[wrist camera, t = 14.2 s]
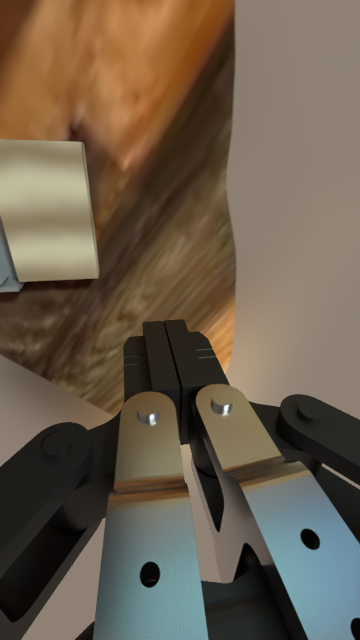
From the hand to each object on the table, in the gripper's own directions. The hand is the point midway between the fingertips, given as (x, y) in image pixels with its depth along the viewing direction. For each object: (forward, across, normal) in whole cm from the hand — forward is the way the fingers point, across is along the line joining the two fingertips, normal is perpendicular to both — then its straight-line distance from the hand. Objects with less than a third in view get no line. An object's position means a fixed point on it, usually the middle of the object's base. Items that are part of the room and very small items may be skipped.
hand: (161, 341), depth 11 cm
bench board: (+29, +9, 0) cm, 30 cm away
